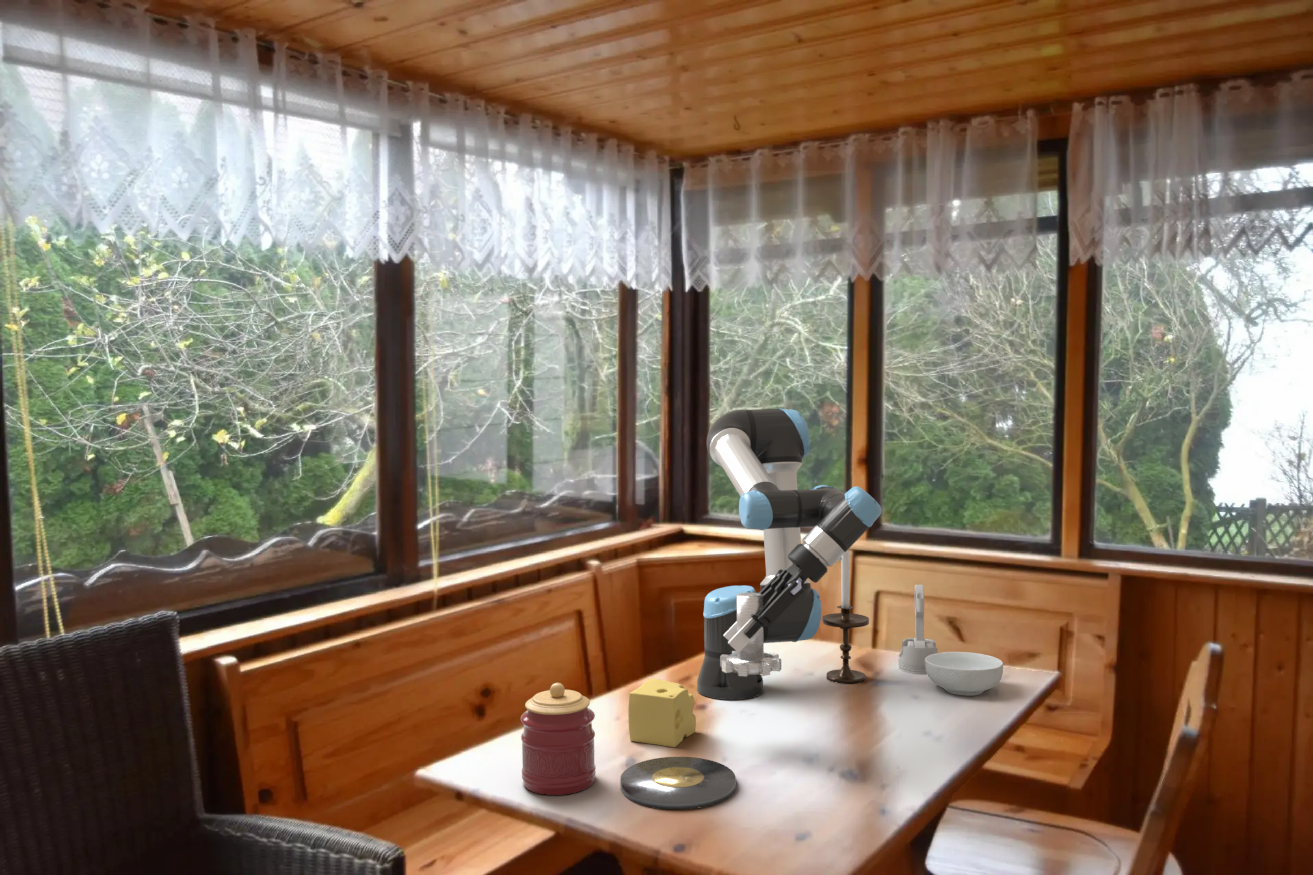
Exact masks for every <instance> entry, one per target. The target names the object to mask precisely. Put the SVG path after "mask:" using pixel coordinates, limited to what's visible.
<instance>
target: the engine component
mask: <svg viewBox="0 0 1313 875" xmlns="http://www.w3.org/2000/svg"><path fill="white" fill-rule="evenodd" d="M924 590H925V588H924V585H923V584H915V585H914V595H913V596H914V602H913V603H914V633H915V635H914V637H909V638H908V637H907V638H903V640H902V642H901V643H902V644H901V649H900V652H899V654H898V669H899V671H902V672H903V673H907V674H911V673H912V674H911V675H913V674H914V675H927V673H926V669H925V658H926V657H927V656H929V655H931V654H936V653H939V652H938V647H936V646H937V645H936V644H937V643H936V641H935V640H934V639H932V638H931V639H930V638H926V637H925V634H924V632H925V628H924V626H925V625H924V617H925V591H924Z"/></svg>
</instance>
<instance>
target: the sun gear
mask: <svg viewBox="0 0 1313 875" xmlns="http://www.w3.org/2000/svg"><path fill="white" fill-rule="evenodd" d="M762 607H763V595H762V594H759V593H740V594H737V632H738V631H739V630H740V629H741V628H742V627H743V626H744V625H745V624H746V623H747V622H748V621H749V620H750V619H751V618H752V617H751V615H752V614H755V615H757V614H758V612H759V611H760V610H761V609H762ZM764 644H765V643H764V642H763V627H762V629H761V630H760V631H759V632H758V633H757V634H756V635H755V636H754V637H753V639H752V640H751V641H750V642H749V643H748V644H747V645H746V646H745V647H744V648H743V649H742V650H741V651H740V652H739V653H738V652H737V651H732V654H730V655H725V654H722V655H721V656H720V667H722V671H723V672H725V673H729V672H734V673H738V676H746V677H747V676H748V675H755V674H759V675H762V677H765V676H770V675H771V673H772V672H780V671H781V670H782V658H780V657H779V656H780V655H779V654H778V653H775V652H772V653H771V652H770V653H767V652H765V651H764V648H765V646H764Z"/></svg>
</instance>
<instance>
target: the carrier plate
mask: <svg viewBox="0 0 1313 875" xmlns="http://www.w3.org/2000/svg"><path fill="white" fill-rule="evenodd" d="M619 779H620V781H619V783H620V786H619V787H620V791H621V794H622V795H623V794H624V795H625V796H624V795H623V796H624V797H625V798H626V799H628V800H629V799H630V800H629V801H631V802H633V803H635V804H637V803H638V805H640V806H643V805H645V806H644V807H647V806H648V808H652V807H654V808H653V809H657V808H659V809H660V810H666V809H670V810H669V811H671V810H673V809H689V810H695V809H694V808H698V807H703V808H707V807H706V806H708V807H711V806H710V805H712V806H714V805H715V806H716V805H718V804H720V803H722V802H725V801H727V800H728V799H729V798H731V797H732V796H733V795H734V794H735V791H736V788H737V778H736V775H735V772H734V771H733V770H732V769H731V768H729V767H728V766H727V765H725V764H722V763H720V762H717V761H715V760H711V759H708V758H702V757H692V756H666V757H665V756H662V757H657V758H651V759H646V760H644V761H643V760H642V761H640V762H636V763H635V764H632V765H631V766H629V767H627V768H626V769H624V771H623V772H622V774H621V775H620V778H619ZM717 803H718V804H717ZM691 808H693V809H691ZM659 809H658V810H659ZM698 809H699V808H698ZM673 811H674V810H673Z"/></svg>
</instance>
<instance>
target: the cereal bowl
mask: <svg viewBox="0 0 1313 875" xmlns="http://www.w3.org/2000/svg"><path fill="white" fill-rule="evenodd" d="M925 669H926V673H927V674H926V675H927V676H928V678H929V680H930V681H931V682H932V683H933V684H935V685H936V686H938V687H941V689H942V688H943V689H945V691H947V692H948V693H950V694H953V695H957V696H977V695H980V694H982V693H983V692H984V691H987V690H988V691H989V690H990V689H992V688H994V687H996V686H997V685H999V683H1000V681H1001V680H1002V678H1003V674H1004V672H1003V671H1004V663H1003V661H1002V660H1001V659H1000V658H997V657H995V656H992V655H988V654H983V653H978V652H977V653H976V652H969V651H943V652H938V653H936V654H931V655H929V656H927V657H926V658H925Z"/></svg>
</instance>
